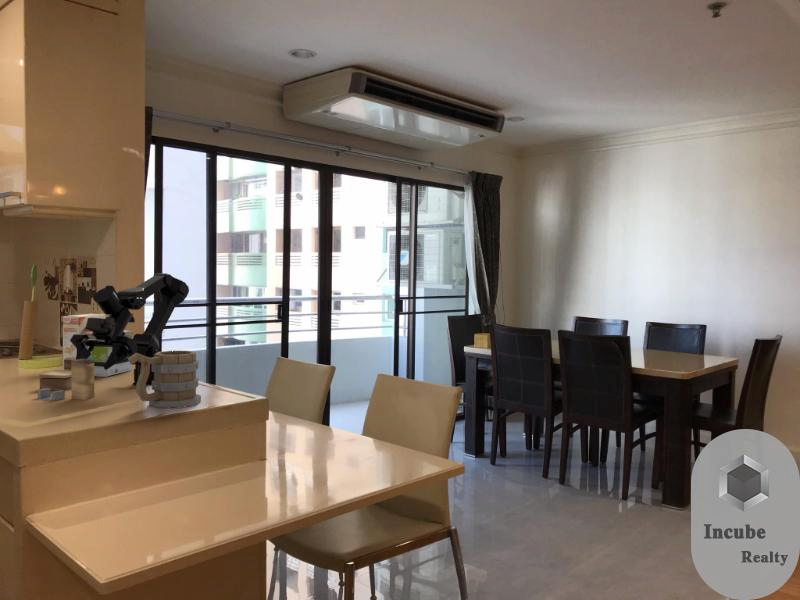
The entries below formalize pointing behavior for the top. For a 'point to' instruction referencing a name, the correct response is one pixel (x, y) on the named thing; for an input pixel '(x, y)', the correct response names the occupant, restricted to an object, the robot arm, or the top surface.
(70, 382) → the open wooden box
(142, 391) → the tankard
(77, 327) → the coffeecake box
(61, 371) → the lid
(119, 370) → the tea box
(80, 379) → the wooden block
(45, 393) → the grey rounded piece
